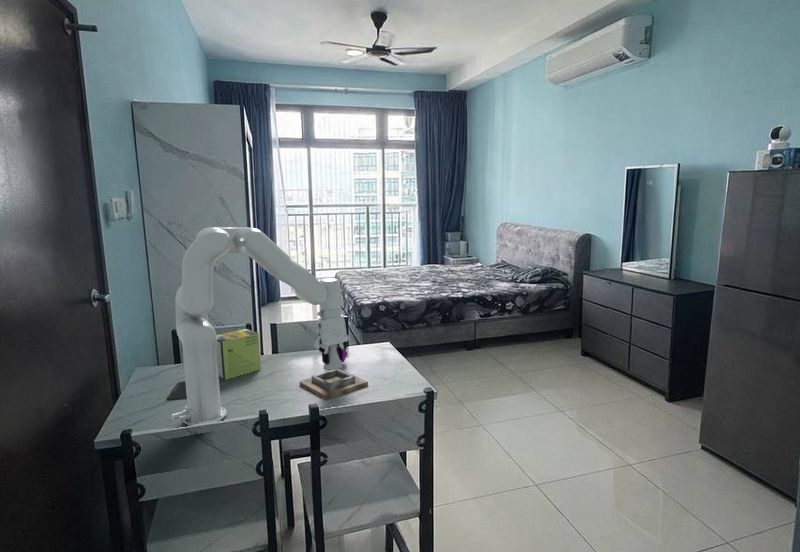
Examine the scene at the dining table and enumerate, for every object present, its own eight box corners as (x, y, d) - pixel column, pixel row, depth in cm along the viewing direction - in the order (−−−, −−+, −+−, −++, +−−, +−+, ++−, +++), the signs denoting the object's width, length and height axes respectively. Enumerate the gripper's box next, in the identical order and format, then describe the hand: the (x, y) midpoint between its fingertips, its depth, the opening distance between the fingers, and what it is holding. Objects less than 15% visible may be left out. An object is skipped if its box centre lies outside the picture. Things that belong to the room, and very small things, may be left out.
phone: (200, 380, 174) (189, 396, 160) (200, 382, 174) (190, 399, 160) (177, 382, 173) (165, 398, 158) (178, 384, 173) (165, 401, 158)
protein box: (261, 369, 187) (259, 332, 184) (225, 380, 176) (222, 341, 173) (248, 363, 194) (246, 328, 191) (212, 374, 183) (209, 336, 180)
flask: (339, 371, 164) (338, 344, 162) (320, 370, 165) (318, 343, 164) (345, 364, 171) (344, 338, 169) (327, 363, 172) (325, 337, 171)
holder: (326, 399, 156) (325, 390, 156) (299, 385, 170) (299, 376, 169) (368, 385, 168) (367, 376, 168) (340, 372, 182) (339, 364, 181)
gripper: (315, 319, 156) (318, 370, 159) (356, 310, 168) (357, 358, 170) (304, 315, 162) (307, 364, 165) (344, 307, 173) (346, 353, 176)
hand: (332, 360), depth 168 cm, fingers closed on flask, 5 cm apart
